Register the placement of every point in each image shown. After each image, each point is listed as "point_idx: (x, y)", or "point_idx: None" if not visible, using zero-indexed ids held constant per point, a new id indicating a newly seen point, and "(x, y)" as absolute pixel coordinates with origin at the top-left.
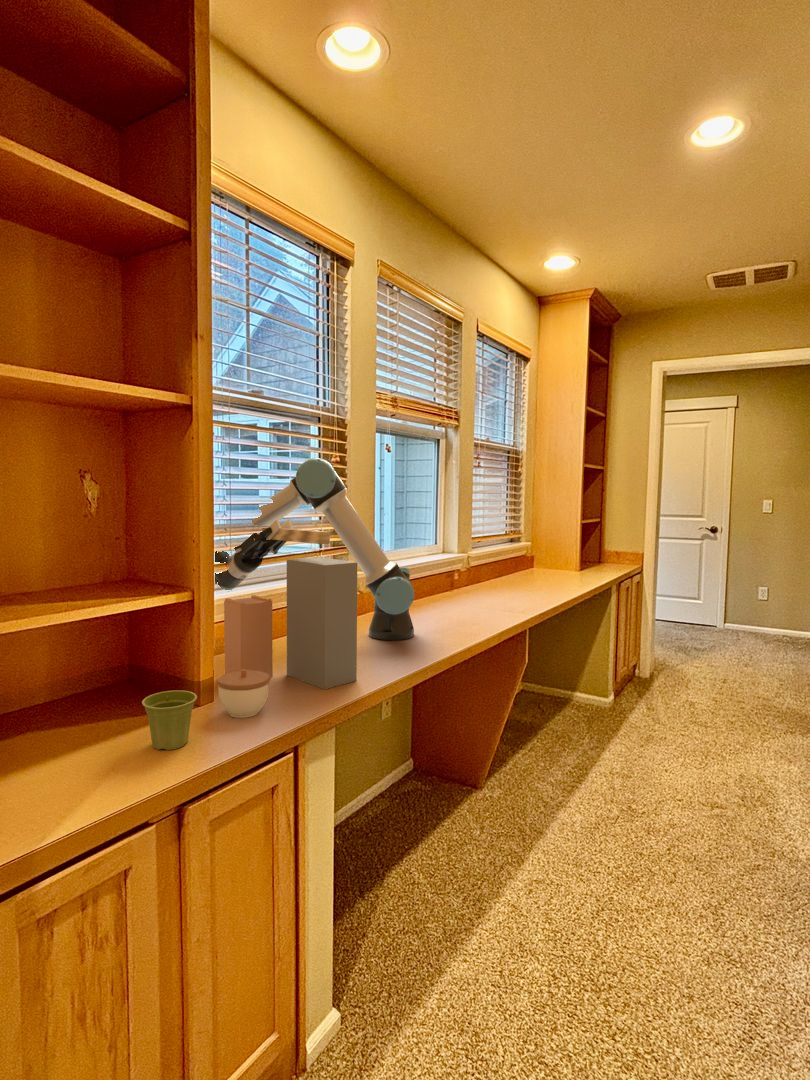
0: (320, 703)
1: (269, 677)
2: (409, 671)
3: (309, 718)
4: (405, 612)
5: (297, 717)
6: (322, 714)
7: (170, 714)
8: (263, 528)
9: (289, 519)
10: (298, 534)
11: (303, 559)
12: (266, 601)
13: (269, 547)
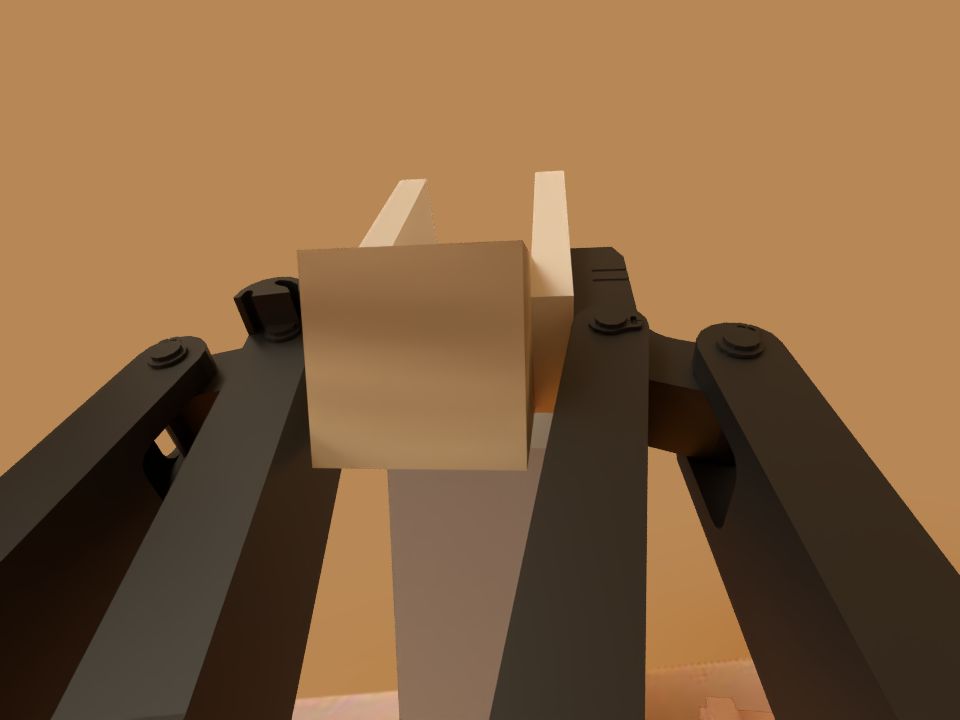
0: (659, 705)
1: None
2: (302, 706)
3: (724, 667)
4: None
5: (748, 684)
6: (688, 665)
7: None
8: (526, 261)
9: (411, 182)
10: None
11: (535, 433)
12: (740, 715)
13: (285, 708)
